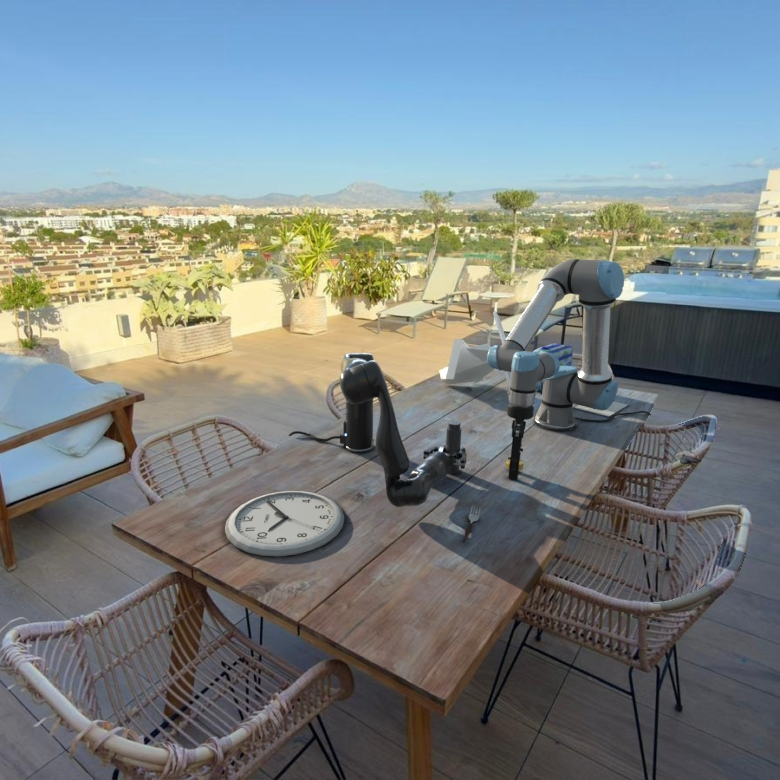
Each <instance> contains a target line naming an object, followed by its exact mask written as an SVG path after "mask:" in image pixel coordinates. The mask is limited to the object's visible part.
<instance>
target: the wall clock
mask: <svg viewBox="0 0 780 780" xmlns="http://www.w3.org/2000/svg"><path fill="white" fill-rule="evenodd" d="M344 515H345V514H344V511H343V509H342V508H341V507H340V505H338V503H336V502H335V501H334V500H333V499H332V500H331V499H330V498H329V497H327V496H324V495H322V494H318V493H316V492H311V491H310V492H309V491H305V490H304V491H303V490H284V491H276V492H272V493H267V494H264V495H260V496H257V497H255V498H252V499H250V500H248V501H246V502H245V503H243V504H241V505H240V506H238V508H236V509H235V510H233V511H232V512H231V513H230V515H229V517H228V518H227V520H226V521H225V527H224V532H225V536H226V538H227V540H228V541H229V542H230V544H231V545H233V546H234V547H235V548H237V549H240V550H241V551H244V552H245V553H248V554H252V555H256V556H262V557H287V556H294V555H296V556H297V555H299V554H304V553H307V552H311V551H313V550H316V549H318V548H320V547H322V546H324V545H327V544H328V543H329V542H331V541H332V540H333V539H335V538H336V537H337V536H338V534H339V533H340V532H341V530H342V529H343V527H344V522H345V516H344Z"/></svg>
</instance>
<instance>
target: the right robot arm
mask: <svg viewBox="0 0 780 780" xmlns="http://www.w3.org/2000/svg"><path fill="white" fill-rule="evenodd" d="M624 285H625V275H624V271H623V268H622V266H621V265H620V264H619V263H618V262H616V261H611V260H605V259H603V260H602V259H580V258H571V259H567V260H564V261H561V262H560V263H558V264H557V265H555V266H554V267H552V268H551V269H550V270H549V271H547V273H546V274H544V276H543V277H542V278H541V279H540V281H539V283H538V284H537V291H536V292H535V294H534V295H533V297H532V298H531V300H530V302H529V303H528V305H527V306H526V308H525V309H524V311H523V312H522V314H521V315H520V317H519V318H518V320H517V321H516V322H515V325H514V326H513V327H512V329H511V330H510V332H509V333H508V335H507V336H506V340H505V341H504V342H503V344H502V343H501V345H500V344H499V345H492V346H490V347H491V348H490V350H489V351H488V354H487V362H488V364H489V366H490V367H492V368H495V369H494V370H498V371H503V372H504V371H507V372H510V375H511V382H510V390H509V391H507V393H506V394H507V395H508V404H507V410H506V412H507V413H506V414H507V416H508V417H509V418H511V419H513V420H512V423H511V438H512V439H511V450H510V456H508V457H507V459H508V460H510V467H509V469H508V477H507V479H509V480H514V481H518V478H519V472H520V471H518V469H519V460H521V455H522V452H524V448H522V446H523V445H522V441H523V439H524V434H525V430H526V426H527V420H531V419H533V417H534V424H535V425H536V426H537V427H539V428H542V429H544V430H549V431H556V432H567V431H572V430H574V429H575V428H576V420H579V421H584V422H596V423H604V422H610V421H611V420H613V418H615V417H618V416H625V415H635V414H648V416H652V414H651V413H650V412H649V411H646V410H640V411H639V410H638V411H632V412H621V413H614V414H613V415H611V416H610V417H609V418H607V419H589V418H582V417H576V416H575V413H574V407H573V405H576V406H578V405H581V406H585V407H589V408H593V409H597V410H606V409H608V408H609V407H610V406H611V404H612V403H613V401H614V402H615V399H616V396H617V394H618V390H619V383H618V381H617V380H615V379H613V372H612V371H611V370H610V369H609V352H610V351H609V350H610V331H611V330H610V326H611V307H612V305H614V304H615V303H616V301H617V299H618V298H620V297H621V296H622V294H623V290H624V289H623V288H624V287H625V286H624ZM567 295H576V296H578V303H579V304H580V305H581V306H582V307H583V308H582V347H581V348H582V352H581V353H582V355H581V369H579V370H578V368H577V367H576V366H572V365H571V366H560V362H559V359H558V358H557V356H555V355H554V354H552V353H542V354H537V353H534V352H533V351H528V348H529V347H530V345H531V343H532V342H533V340H534V339H535V337H536V336H537V334H538V332H539V331H540V329H541V328H542V326H543V325H544V324H545V322H546V320H547V319H548V317H549V315H550V314H551V312H552V310H554V308H555V306H556V304H557V303H558V302H561V301H562V300H563V299H564V298H565V296H567ZM540 380H544V381H543V391H541V392H542V394H541V402H540V405H539V407H538V410H537V411H536V413H535V416H534V410H535V406H534V405H535V403H536V395H537V390H536V384H537V381H540ZM525 420H526V421H525Z"/></svg>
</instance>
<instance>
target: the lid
mask: <svg viewBox="0 0 780 780" xmlns="http://www.w3.org/2000/svg"><path fill="white" fill-rule="evenodd" d="M505 467H506V469H507V470H509V467H510V460H508V458H507V459H506V461H505ZM523 469H524V461H523V460H522V459H520V460H519V469H518V471H519V472H520V471H522V470H523Z"/></svg>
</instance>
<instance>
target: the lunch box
mask: <svg viewBox="0 0 780 780" xmlns="http://www.w3.org/2000/svg"><path fill="white" fill-rule="evenodd" d="M532 352H534V353H537V354H542V353H552V354H554V355H555V356H557V358H558V359H559V362H560V366H572V365H573V363H572V362H573V356H574V355H573V347H572V346H571V345H566V344H560V343H551V344H548V345H544V346H541V347H538V348H536V349H534V350H533V351H532ZM543 381H544V380H540V381H537V384H536V391H541V392H542V391H543Z"/></svg>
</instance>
